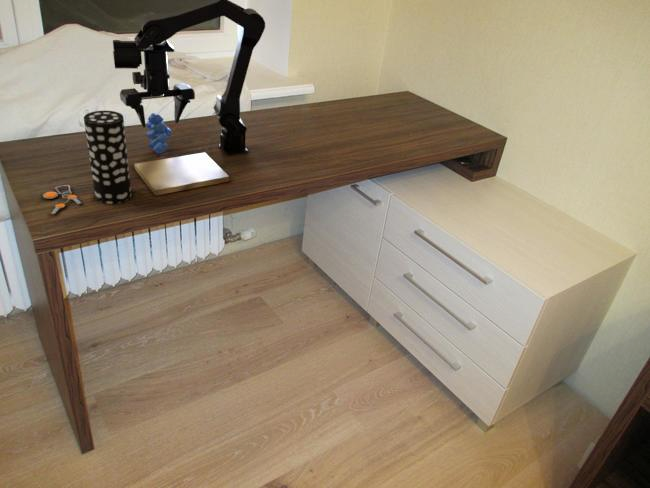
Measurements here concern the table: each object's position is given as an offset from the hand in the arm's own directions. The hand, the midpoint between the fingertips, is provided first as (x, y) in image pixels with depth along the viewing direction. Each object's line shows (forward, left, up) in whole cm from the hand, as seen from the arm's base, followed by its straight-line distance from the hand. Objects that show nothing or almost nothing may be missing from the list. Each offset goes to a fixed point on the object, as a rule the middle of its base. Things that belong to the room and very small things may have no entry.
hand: (160, 124), depth 151 cm
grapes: (0, 0, -9) cm, 9 cm away
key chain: (+30, +17, -8) cm, 36 cm away
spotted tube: (+19, +19, -9) cm, 28 cm away
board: (0, +15, -8) cm, 17 cm away
